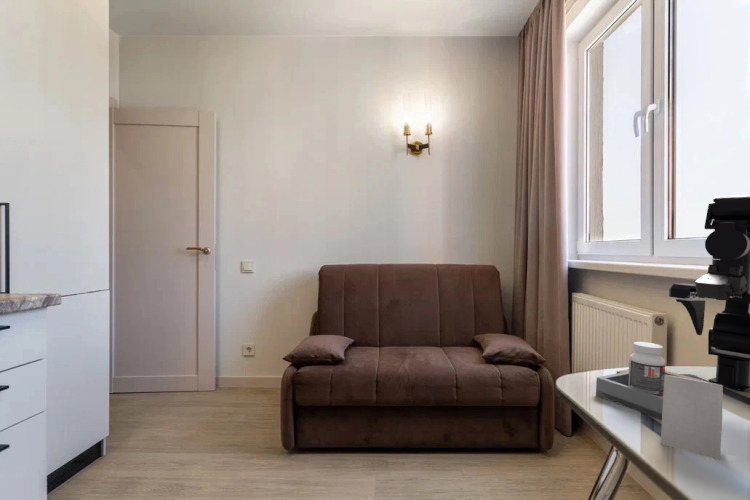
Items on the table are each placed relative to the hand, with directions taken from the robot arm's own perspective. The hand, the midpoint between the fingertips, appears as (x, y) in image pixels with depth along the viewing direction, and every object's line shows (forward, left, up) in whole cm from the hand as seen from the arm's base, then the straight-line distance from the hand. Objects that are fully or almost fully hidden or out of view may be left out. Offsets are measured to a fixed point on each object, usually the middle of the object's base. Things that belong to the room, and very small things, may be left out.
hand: (726, 340), depth 79 cm
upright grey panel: (+28, +7, -12) cm, 31 cm away
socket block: (+2, -10, -12) cm, 16 cm away
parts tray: (+15, -6, -12) cm, 20 cm away
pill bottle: (+15, -6, -11) cm, 20 cm away
